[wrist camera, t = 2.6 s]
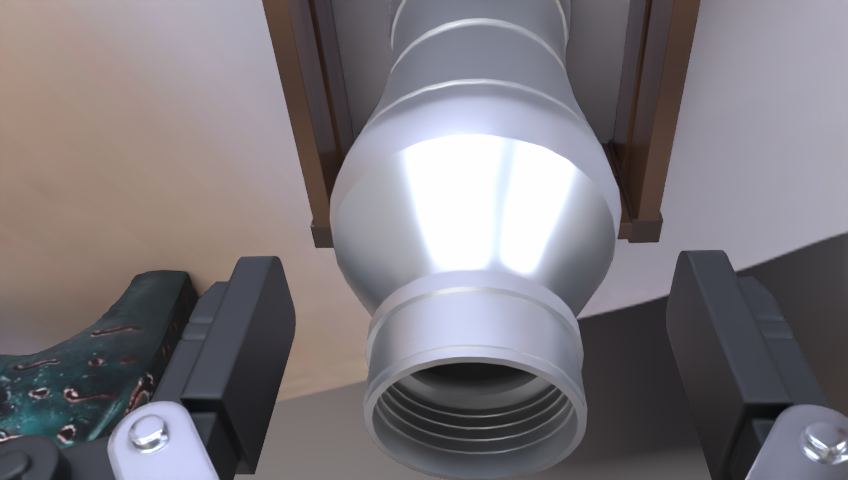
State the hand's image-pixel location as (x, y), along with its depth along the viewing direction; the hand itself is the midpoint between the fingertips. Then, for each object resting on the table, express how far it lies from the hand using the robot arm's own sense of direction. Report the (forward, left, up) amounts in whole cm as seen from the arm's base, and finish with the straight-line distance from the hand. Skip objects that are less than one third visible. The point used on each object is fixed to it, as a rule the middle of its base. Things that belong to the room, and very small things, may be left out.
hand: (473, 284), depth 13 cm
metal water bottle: (0, 0, -17) cm, 17 cm away
